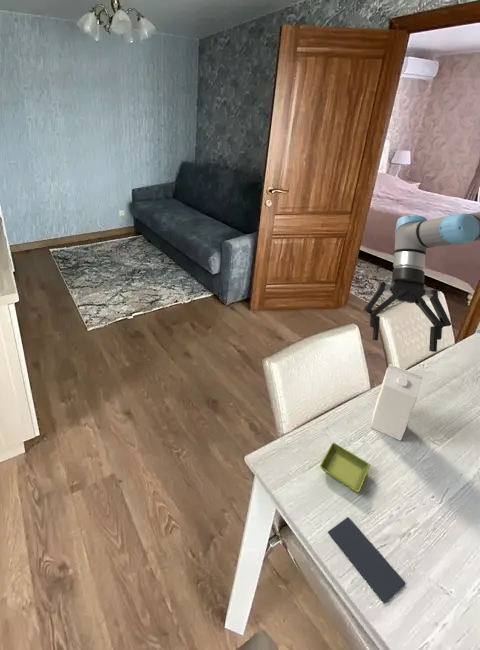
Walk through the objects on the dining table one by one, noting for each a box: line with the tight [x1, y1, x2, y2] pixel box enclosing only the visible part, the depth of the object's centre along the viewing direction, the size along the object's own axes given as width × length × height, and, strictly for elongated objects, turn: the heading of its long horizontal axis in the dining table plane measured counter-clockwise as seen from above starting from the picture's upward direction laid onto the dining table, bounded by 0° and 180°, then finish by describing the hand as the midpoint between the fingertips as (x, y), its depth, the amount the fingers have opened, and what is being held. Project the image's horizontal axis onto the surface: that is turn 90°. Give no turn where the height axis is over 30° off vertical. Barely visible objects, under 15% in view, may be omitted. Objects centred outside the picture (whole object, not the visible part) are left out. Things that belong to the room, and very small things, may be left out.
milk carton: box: [370, 363, 423, 442], centre depth 90 cm, size 7×7×19 cm
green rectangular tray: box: [319, 442, 371, 493], centre depth 81 cm, size 9×9×2 cm
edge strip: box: [327, 516, 406, 604], centre depth 66 cm, size 12×6×1 cm, turn 27°
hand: (403, 345), depth 93 cm, fingers open, 13 cm apart
